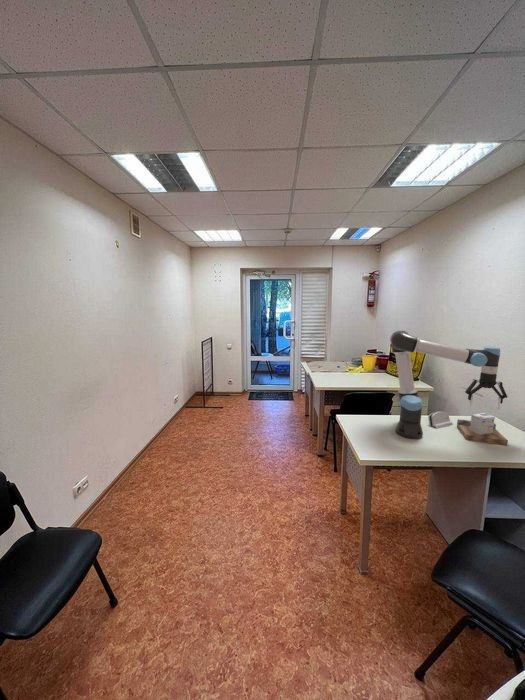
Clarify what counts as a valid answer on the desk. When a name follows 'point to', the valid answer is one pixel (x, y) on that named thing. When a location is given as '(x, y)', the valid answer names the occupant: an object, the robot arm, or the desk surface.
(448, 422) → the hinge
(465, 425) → the walnut stand
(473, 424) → the light bulb box
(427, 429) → the desk surface
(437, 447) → the desk surface
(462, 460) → the desk surface
